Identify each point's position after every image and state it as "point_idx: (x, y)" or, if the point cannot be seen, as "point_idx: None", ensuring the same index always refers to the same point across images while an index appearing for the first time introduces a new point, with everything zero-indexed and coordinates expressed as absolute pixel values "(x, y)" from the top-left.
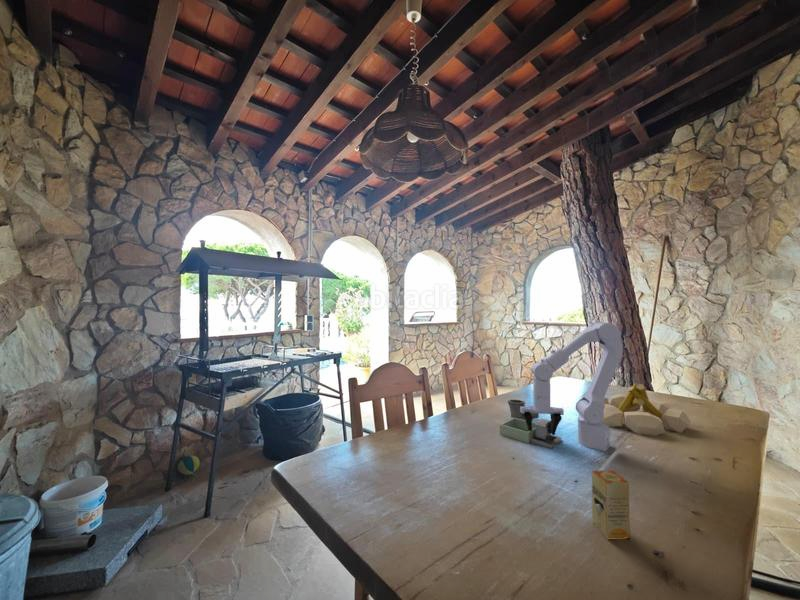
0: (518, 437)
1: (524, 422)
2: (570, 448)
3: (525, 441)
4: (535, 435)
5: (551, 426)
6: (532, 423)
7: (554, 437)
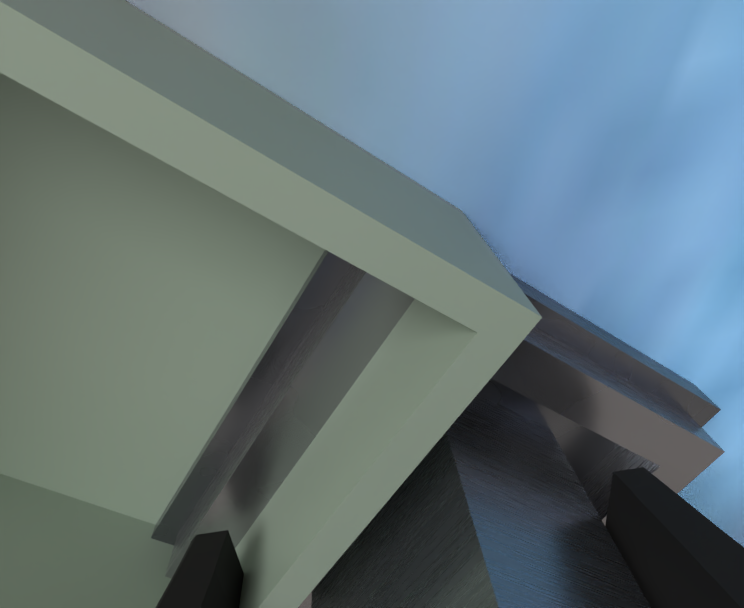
0: (59, 562)
1: (28, 69)
2: (707, 487)
3: None
4: (313, 597)
5: (696, 589)
6: (292, 229)
7: (623, 439)
